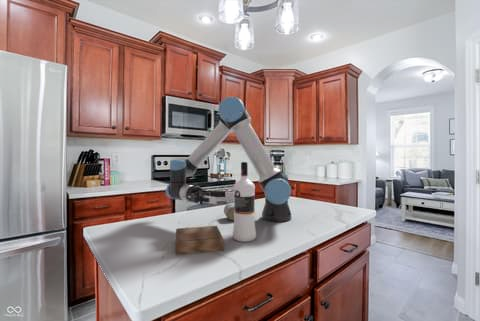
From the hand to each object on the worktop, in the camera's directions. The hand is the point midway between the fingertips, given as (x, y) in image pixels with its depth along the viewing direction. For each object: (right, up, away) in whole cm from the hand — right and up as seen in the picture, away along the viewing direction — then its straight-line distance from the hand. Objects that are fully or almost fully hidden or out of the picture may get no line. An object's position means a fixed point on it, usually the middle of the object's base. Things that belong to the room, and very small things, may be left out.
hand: (227, 198), depth 100 cm
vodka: (+7, -15, -5) cm, 17 cm away
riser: (-10, -15, -11) cm, 21 cm away
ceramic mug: (+3, -15, +25) cm, 29 cm away
